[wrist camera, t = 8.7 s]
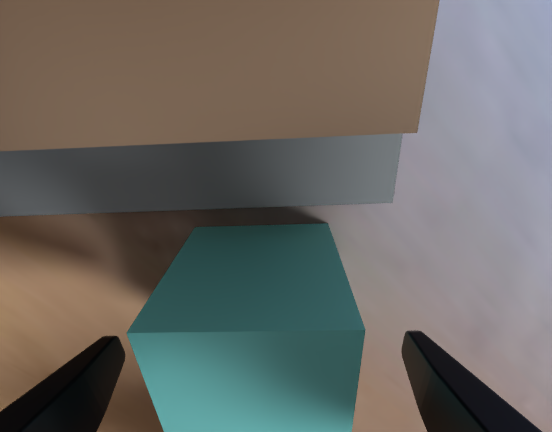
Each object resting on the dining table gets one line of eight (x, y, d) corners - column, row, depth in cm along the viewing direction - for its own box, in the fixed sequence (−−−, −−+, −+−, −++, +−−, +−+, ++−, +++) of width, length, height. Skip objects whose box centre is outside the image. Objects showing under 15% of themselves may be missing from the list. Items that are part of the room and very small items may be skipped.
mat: (386, 196, 9) (393, 203, 9) (-74, 212, 10) (-97, 220, 9) (451, -286, 5) (473, -336, 5) (-348, -206, 6) (-420, -240, 5)
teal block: (323, 321, 12) (348, 458, 8) (213, 323, 12) (173, 457, 8) (327, 222, 10) (365, 329, 5) (195, 225, 10) (126, 333, 6)
